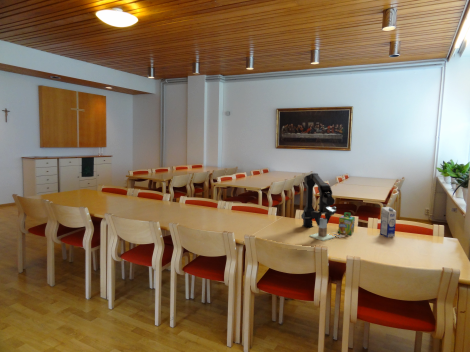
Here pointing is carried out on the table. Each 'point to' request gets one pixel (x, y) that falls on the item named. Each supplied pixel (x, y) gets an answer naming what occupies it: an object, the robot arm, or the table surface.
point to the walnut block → (322, 232)
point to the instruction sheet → (339, 235)
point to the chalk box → (346, 224)
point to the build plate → (322, 237)
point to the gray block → (323, 223)
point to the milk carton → (388, 222)
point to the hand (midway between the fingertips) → (322, 224)
